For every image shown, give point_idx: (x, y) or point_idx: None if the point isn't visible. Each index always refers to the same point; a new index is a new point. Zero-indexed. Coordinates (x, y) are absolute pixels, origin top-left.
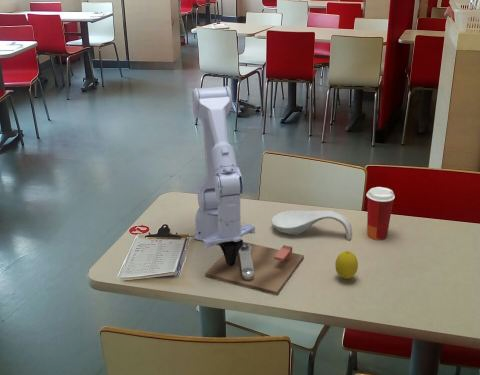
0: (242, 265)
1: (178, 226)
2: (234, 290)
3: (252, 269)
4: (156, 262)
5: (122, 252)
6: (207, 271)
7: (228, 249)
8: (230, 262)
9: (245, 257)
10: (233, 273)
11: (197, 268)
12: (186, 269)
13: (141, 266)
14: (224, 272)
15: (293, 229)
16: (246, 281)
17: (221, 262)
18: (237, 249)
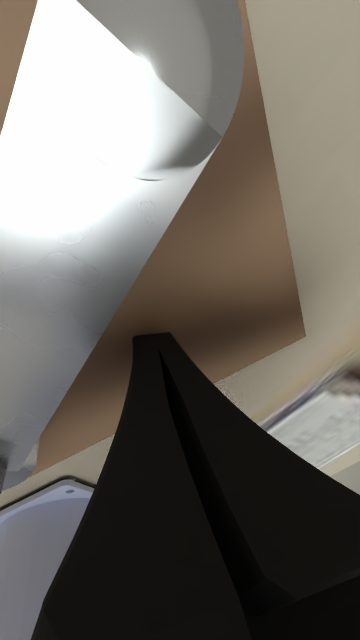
0: (133, 256)
1: None
2: (324, 44)
3: (55, 53)
4: (309, 438)
5: None
6: (284, 345)
7: (357, 502)
8: (184, 351)
9: (21, 363)
10: (194, 255)
11: (260, 384)
12: (290, 390)
13: (345, 432)
14: (230, 297)
15: None
16: None
17: None
18: (145, 476)
